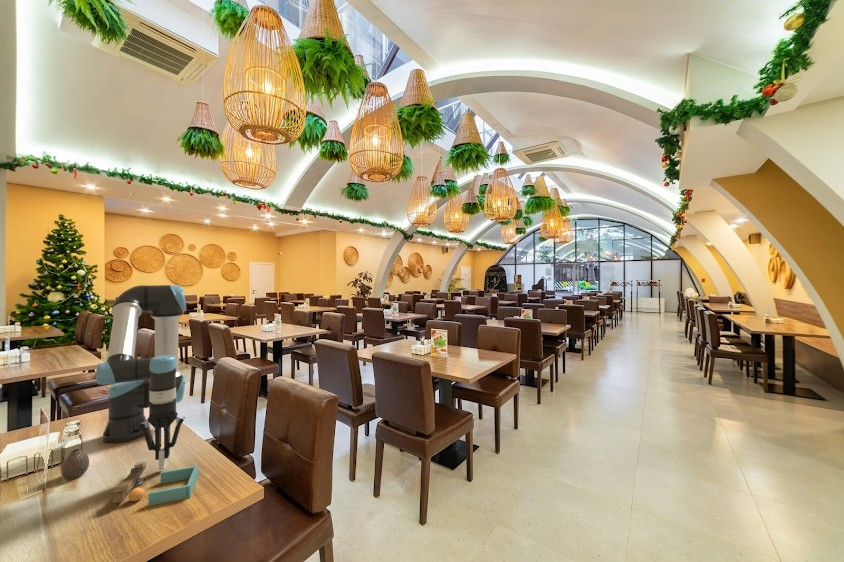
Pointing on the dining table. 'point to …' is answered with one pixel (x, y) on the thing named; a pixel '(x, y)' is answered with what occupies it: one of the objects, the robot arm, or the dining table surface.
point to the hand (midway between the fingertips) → (162, 467)
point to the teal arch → (175, 492)
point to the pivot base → (139, 482)
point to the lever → (129, 482)
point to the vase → (75, 464)
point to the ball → (136, 494)
